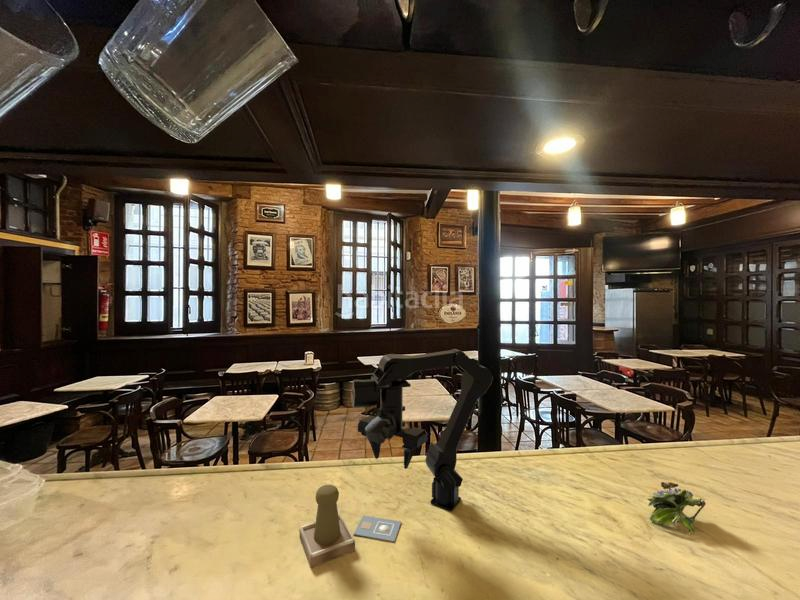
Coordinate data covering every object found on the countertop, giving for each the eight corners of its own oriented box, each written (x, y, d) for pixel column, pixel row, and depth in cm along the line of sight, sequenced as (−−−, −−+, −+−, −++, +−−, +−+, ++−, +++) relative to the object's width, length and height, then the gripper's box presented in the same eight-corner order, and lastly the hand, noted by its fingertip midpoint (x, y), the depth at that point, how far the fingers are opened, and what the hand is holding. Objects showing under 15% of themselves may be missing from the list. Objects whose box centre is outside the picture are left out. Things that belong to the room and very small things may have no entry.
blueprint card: (401, 522, 87) (401, 521, 87) (394, 542, 80) (394, 540, 80) (363, 516, 89) (363, 515, 89) (353, 535, 83) (353, 533, 83)
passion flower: (667, 534, 91) (687, 493, 93) (705, 558, 80) (727, 511, 82) (630, 509, 92) (651, 468, 93) (664, 529, 81) (686, 483, 83)
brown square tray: (340, 524, 86) (340, 513, 86) (355, 550, 78) (355, 539, 78) (299, 537, 82) (299, 526, 82) (310, 567, 73) (310, 555, 73)
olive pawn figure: (341, 542, 78) (341, 493, 77) (313, 547, 76) (313, 497, 76) (339, 524, 83) (339, 479, 83) (313, 528, 82) (313, 482, 81)
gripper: (343, 405, 89) (343, 465, 89) (405, 421, 78) (404, 489, 79) (370, 394, 98) (370, 449, 98) (428, 407, 88) (428, 468, 88)
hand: (391, 463), depth 91 cm, fingers open, 9 cm apart
